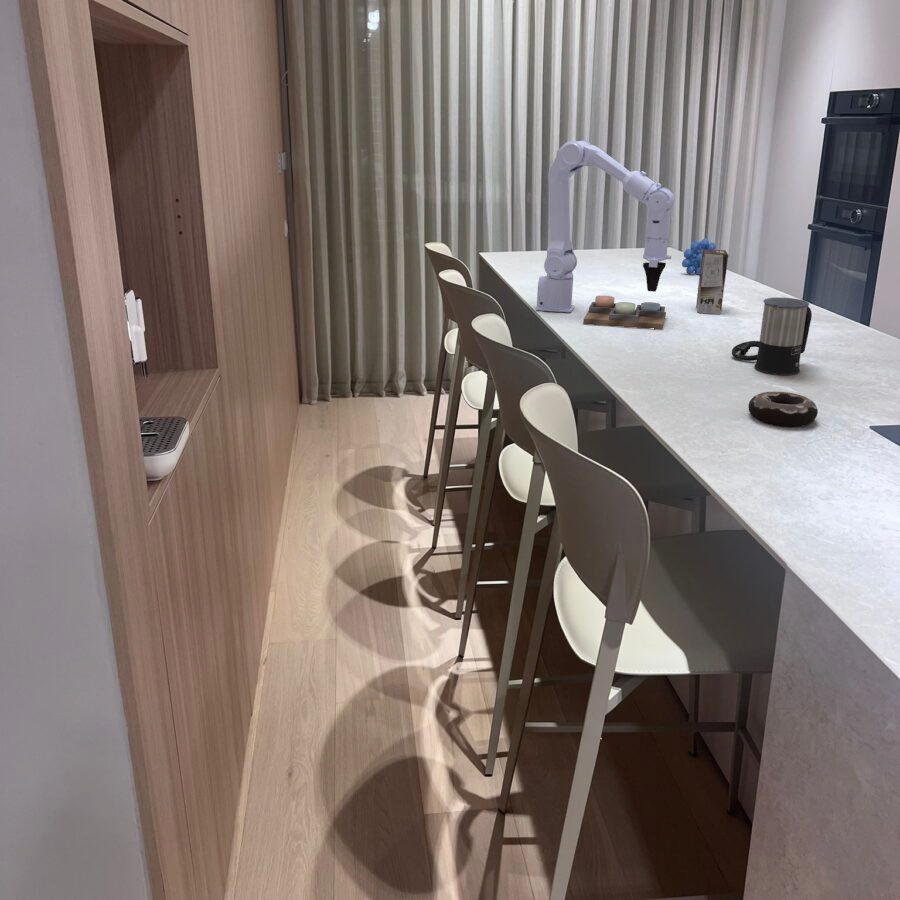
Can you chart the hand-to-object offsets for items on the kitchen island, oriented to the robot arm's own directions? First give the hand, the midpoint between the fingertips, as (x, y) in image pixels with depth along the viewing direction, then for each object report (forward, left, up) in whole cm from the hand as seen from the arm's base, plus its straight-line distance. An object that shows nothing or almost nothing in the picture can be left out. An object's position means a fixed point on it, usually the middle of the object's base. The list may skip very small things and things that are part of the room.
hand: (651, 291), depth 232 cm
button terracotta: (-12, 0, -5) cm, 13 cm away
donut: (+28, -75, -8) cm, 80 cm away
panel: (-6, -4, -8) cm, 10 cm away
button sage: (-6, -7, -5) cm, 10 cm away
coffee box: (+15, +17, -8) cm, 24 cm away
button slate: (0, 0, -6) cm, 6 cm away
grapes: (+11, +76, -8) cm, 77 cm away
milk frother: (+27, -38, -8) cm, 47 cm away
